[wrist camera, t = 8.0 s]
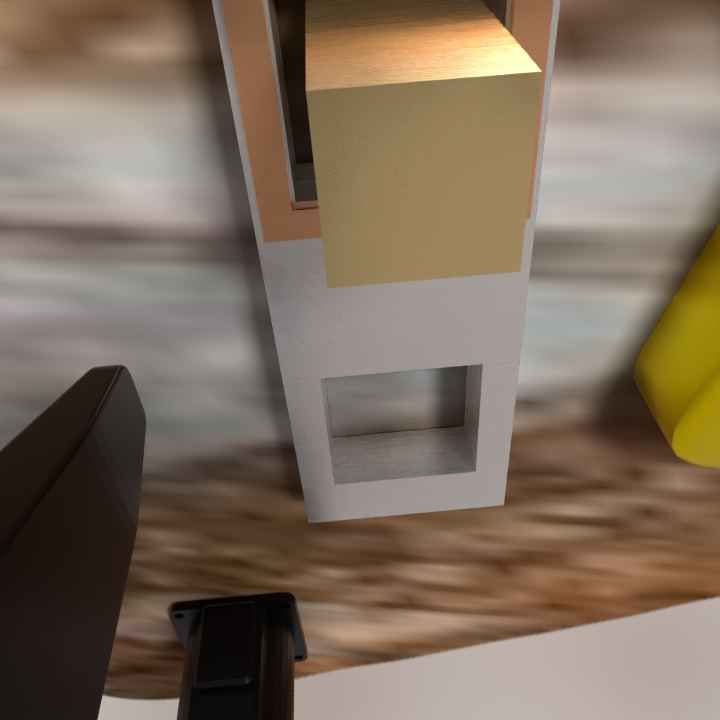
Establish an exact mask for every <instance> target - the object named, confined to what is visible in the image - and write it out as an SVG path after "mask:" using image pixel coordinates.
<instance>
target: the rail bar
mask: <svg viewBox="0 0 720 720" xmlns="http://www.w3.org/2000/svg"><path fill="white" fill-rule="evenodd" d="M212 4H213V10H214V15H215V21H216V26H217V31H218V37H219V42H220V47H221V53H222V58H223V64H224V69H225V74H226V80H227V85H228V91H229V96H230V101H231V107H232V112H233V117H234V123H235V128H236V134H237V139H238V144H239V150H240V155H241V160H242V166H243V171H244V177H245V182H246V187H247V193H248V198H249V204H250V209H251V214H252V220H253V225H254V230H255V236H256V241H257V247H258V252H259V257H260V263H261V268H262V274H263V279H264V284H265V290H266V295H267V300H268V306H269V311H270V317H271V322H272V327H273V333H274V338H275V343H276V349H277V354H278V360H279V365H280V370H281V376H282V381H283V387H284V392H285V397H286V403H287V408H288V413H289V419H290V424H291V430H292V435H293V440H294V446H295V451H296V456H297V462H298V467H299V473H300V478H301V483H302V489H303V494H304V500H305V505H306V510H307V516H308V521H309V523H316V522H327V521H337V520H348V519H359V518H370V517H380V516H391V515H402V514H413V513H424V512H434V511H445V510H456V509H467V508H477V507H488V506H499V505H504V498H505V489H506V480H507V471H508V462H509V453H510V444H511V435H512V426H513V417H514V408H515V399H516V391H517V382H518V373H519V364H520V355H521V346H522V337H523V328H524V319H525V310H526V301H527V292H528V283H529V275H530V266H531V257H532V248H533V239H534V230H535V221H536V212H537V203H538V194H539V185H540V176H541V167H542V158H543V150H544V141H545V132H546V123H547V114H548V105H549V96H550V87H551V78H552V69H553V60H554V51H555V42H556V34H557V25H558V16H559V7H560V0H484V4H485V5H486V6H487V7H488V8H489V10H490V11H491V12H492V13H493V14H494V16H495V17H496V18H497V19H498V20H499V21H500V23H501V24H502V25H503V26H504V27H505V28H506V30H507V31H508V32H509V33H510V34H511V36H512V37H513V38H514V39H515V40H516V41H517V43H518V44H519V45H520V46H521V47H522V49H523V50H524V51H525V52H526V53H527V54H528V56H529V57H530V58H531V59H532V60H533V61H534V63H535V64H536V65H537V66H538V67H539V69H540V70H541V71H542V74H541V84H540V93H539V102H538V112H537V121H536V130H535V140H534V149H533V159H532V168H531V177H530V187H529V196H528V205H527V215H526V224H525V233H524V243H523V252H522V262H521V271H520V272H512V273H501V274H489V275H477V276H466V277H454V278H443V279H431V280H419V281H408V282H396V283H385V284H373V285H361V286H350V287H338V288H327V279H326V270H325V261H324V252H323V243H322V234H321V224H320V215H319V206H318V197H317V188H316V179H315V170H314V162H312V163H301V164H296V159H295V151H294V144H293V136H292V129H291V121H290V114H289V106H288V98H287V91H286V83H285V76H284V68H283V61H282V53H281V45H280V38H279V30H278V23H277V15H276V8H275V0H212ZM466 365H467V374H466V395H465V416H464V426H455V427H445V428H434V429H423V430H412V431H401V432H390V433H379V434H368V435H358V436H347V437H336V438H332V431H331V424H330V416H329V409H328V401H327V394H326V386H325V378H335V377H346V376H356V375H367V374H378V373H389V372H400V371H411V370H422V369H433V368H444V367H455V366H466Z"/></svg>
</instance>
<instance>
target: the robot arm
mask: <svg viewBox="0 0 720 720" xmlns="http://www.w3.org/2000/svg"><path fill="white" fill-rule="evenodd" d="M145 432H146V418H145V412H144V409H143V406H142V403H141V401H140V398H139V395H138V393H137V390H136V387H135V385H134V382H133V379H132V377H131V374H130V372H129V371H128V369H127V368H126V367H125V366H123V365H111V366H100V367H94V368H92V369H90V370H89V371H88V372H87V373H86V374H84V375H83V376H82V377H81V378H80V379H79V380H78V381H77V382H76V383H74V384H73V385H72V386H71V387H70V388H69V389H68V390H67V391H66V392H65V393H63V394H62V395H61V396H60V397H59V398H58V399H57V400H56V401H55V402H54V403H52V404H51V405H50V406H49V407H48V408H47V409H46V410H45V411H44V412H43V413H41V414H40V415H39V416H38V417H37V418H36V419H35V420H34V421H33V422H31V423H30V424H29V425H28V426H27V427H26V428H25V429H24V430H23V431H22V432H20V433H19V434H18V435H17V436H16V437H15V438H14V439H13V440H12V441H11V442H9V443H8V444H7V445H6V446H5V447H4V448H3V449H2V450H1V451H0V720H97V719H98V714H99V709H100V704H101V700H102V695H103V690H104V686H105V681H106V676H107V671H108V667H109V662H110V657H111V652H112V648H113V643H114V638H115V633H116V629H117V624H118V619H119V614H120V610H121V605H122V600H123V595H124V591H125V586H126V581H127V576H128V572H129V567H130V562H131V557H132V553H133V548H134V542H135V537H136V531H137V524H138V515H139V504H140V492H141V480H142V468H143V456H144V444H145ZM170 619H171V621H172V623H173V625H174V627H175V629H176V632H177V634H178V636H179V638H180V640H181V642H182V644H183V646H184V649H185V651H186V656H185V663H184V670H183V678H182V685H181V692H180V700H179V707H178V714H177V720H294V662H301V661H304V660H306V659H307V646H306V642H305V638H304V633H303V629H302V625H301V621H300V616H299V612H298V608H297V603H296V599H295V597H294V596H293V595H291V594H277V595H267V596H256V597H245V598H235V599H224V600H213V601H203V602H192V603H181V604H175V605H173V606H172V607H171V609H170Z"/></svg>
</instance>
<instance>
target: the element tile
mask: <svg viewBox="0 0 720 720" xmlns="http://www.w3.org/2000/svg"><path fill="white" fill-rule="evenodd" d="M634 381H635V383H636V385H637V387H638V389H639V391H640V393H641V394H642V396H643V398H644V400H645V402H646V403H647V405H648V407H649V409H650V411H651V412H652V414H653V416H654V418H655V420H656V421H657V423H658V425H659V427H660V428H661V430H662V432H663V434H664V436H665V437H666V439H667V441H668V443H669V445H670V446H671V448H672V450H673V452H674V454H675V455H677V456H678V457H680V458H681V459H683V460H685V461H687V462H688V463H691V464H695V465H699V466H703V467H711V468H720V223H719V225H718V226H717V228H716V230H715V231H714V233H713V234H712V236H711V238H710V239H709V241H708V243H707V244H706V246H705V248H704V249H703V251H702V252H701V254H700V256H699V257H698V259H697V261H696V262H695V264H694V265H693V267H692V269H691V270H690V272H689V274H688V275H687V277H686V279H685V280H684V282H683V283H682V285H681V287H680V288H679V290H678V292H677V293H676V295H675V296H674V298H673V300H672V301H671V303H670V305H669V306H668V308H667V309H666V311H665V313H664V314H663V316H662V318H661V319H660V321H659V323H658V324H657V326H656V327H655V329H654V331H653V332H652V334H651V336H650V337H649V339H648V340H647V342H646V344H645V345H644V347H643V349H642V350H641V352H640V354H639V356H638V358H637V361H636V363H635V368H634Z"/></svg>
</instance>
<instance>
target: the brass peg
mask: <svg viewBox="0 0 720 720" xmlns="http://www.w3.org/2000/svg"><path fill="white" fill-rule="evenodd" d="M305 30H306V97H307V106H308V115H309V124H310V133H311V142H312V152H313V161H314V170H315V179H316V188H317V197H318V206H319V215H320V224H321V234H322V243H323V252H324V261H325V270H326V279H327V288H338V287H350V286H361V285H373V284H385V283H396V282H408V281H419V280H431V279H443V278H454V277H466V276H477V275H489V274H501V273H512V272H520V271H521V262H522V252H523V243H524V233H525V224H526V215H527V205H528V196H529V187H530V177H531V168H532V159H533V149H534V140H535V130H536V121H537V112H538V102H539V93H540V84H541V74H542V71H541V70H540V69H539V67H538V66H537V65H536V64H535V63H534V61H533V60H532V59H531V58H530V57H529V56H528V54H527V53H526V52H525V51H524V50H523V49H522V47H521V46H520V45H519V44H518V43H517V41H516V40H515V39H514V38H513V37H512V36H511V34H510V33H509V32H508V31H507V30H506V28H505V27H504V26H503V25H502V24H501V23H500V21H499V20H498V19H497V18H496V17H495V16H494V14H493V13H492V12H491V11H490V10H489V8H488V7H487V6H486V5H485V4H484V3H483V1H482V0H305Z"/></svg>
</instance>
